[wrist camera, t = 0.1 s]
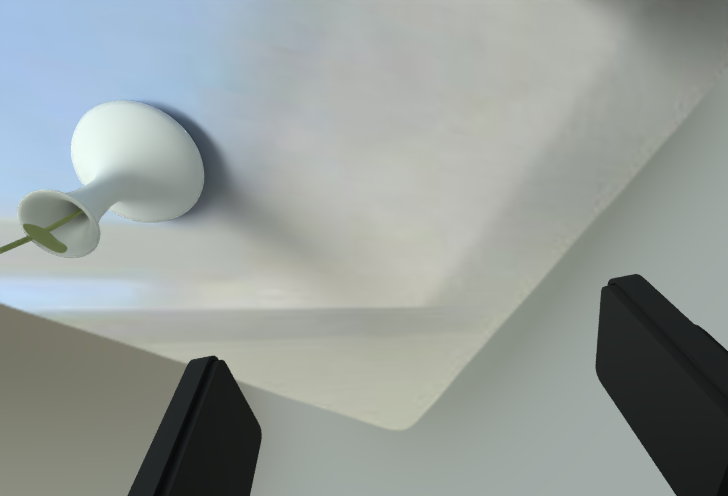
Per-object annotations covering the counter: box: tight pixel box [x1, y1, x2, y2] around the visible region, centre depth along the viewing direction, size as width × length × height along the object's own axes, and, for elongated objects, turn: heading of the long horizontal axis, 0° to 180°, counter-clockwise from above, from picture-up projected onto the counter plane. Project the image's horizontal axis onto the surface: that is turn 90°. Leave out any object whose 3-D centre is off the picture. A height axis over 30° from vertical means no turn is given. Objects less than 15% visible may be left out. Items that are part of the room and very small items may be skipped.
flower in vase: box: [0, 100, 204, 258], centre depth 28 cm, size 13×11×25 cm
